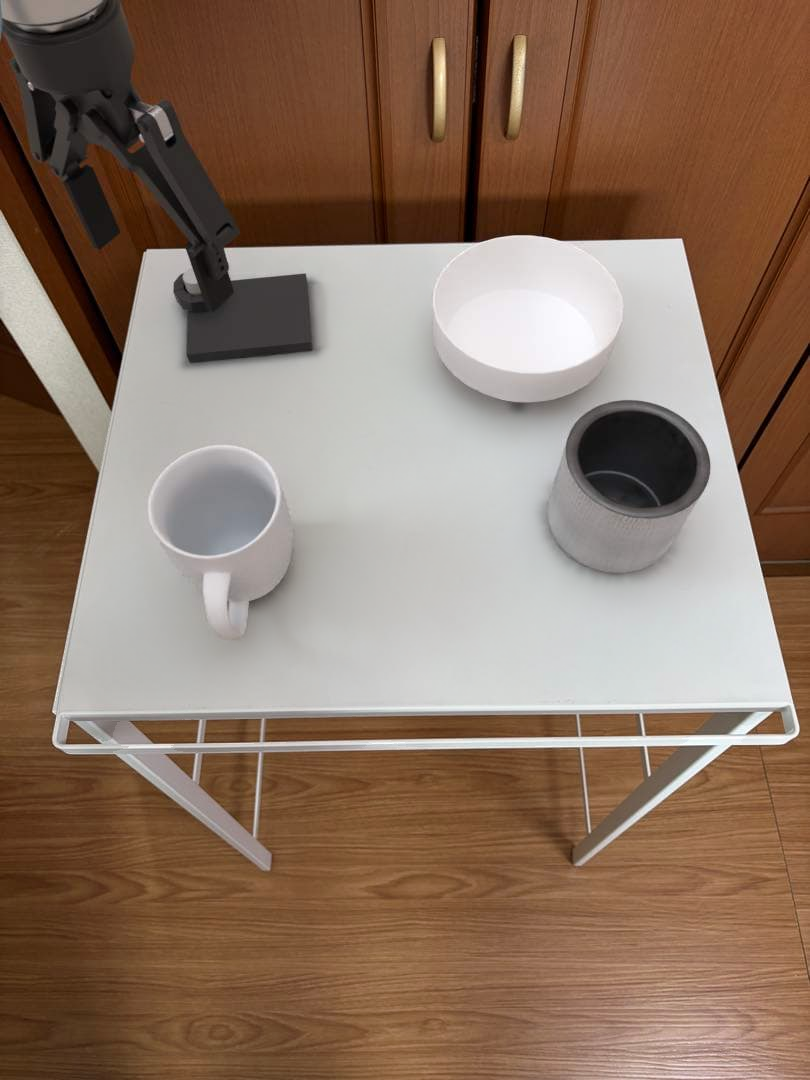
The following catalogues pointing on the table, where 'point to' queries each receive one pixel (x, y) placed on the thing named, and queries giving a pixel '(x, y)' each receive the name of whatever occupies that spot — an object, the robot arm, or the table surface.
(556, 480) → the planter
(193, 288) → the button
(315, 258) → the table surface
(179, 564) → the mug
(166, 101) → the robot arm
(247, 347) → the scale
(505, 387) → the bowl
